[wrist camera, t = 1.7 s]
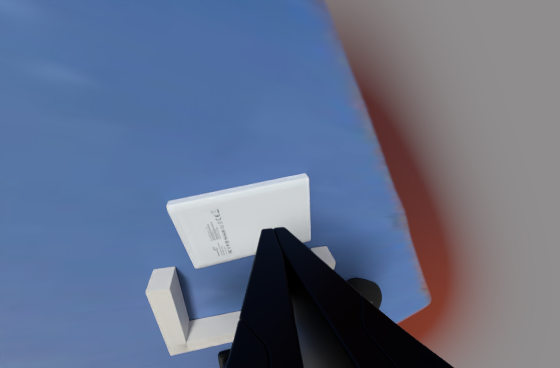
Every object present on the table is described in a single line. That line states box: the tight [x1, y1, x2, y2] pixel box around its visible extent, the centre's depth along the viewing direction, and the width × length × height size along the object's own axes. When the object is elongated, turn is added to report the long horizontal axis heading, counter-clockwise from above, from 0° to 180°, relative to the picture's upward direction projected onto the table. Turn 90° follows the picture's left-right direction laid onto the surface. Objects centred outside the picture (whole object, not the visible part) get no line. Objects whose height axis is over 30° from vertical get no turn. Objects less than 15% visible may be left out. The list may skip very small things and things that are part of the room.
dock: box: [146, 246, 336, 355], centre depth 25 cm, size 12×19×2 cm, turn 87°
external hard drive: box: [167, 173, 311, 269], centre depth 20 cm, size 2×8×12 cm
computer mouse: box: [347, 278, 382, 309], centre depth 31 cm, size 8×12×4 cm, turn 146°
